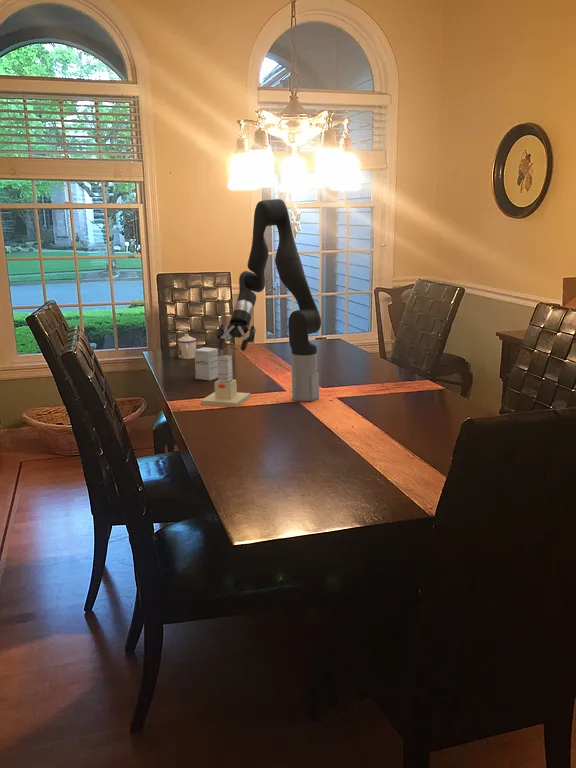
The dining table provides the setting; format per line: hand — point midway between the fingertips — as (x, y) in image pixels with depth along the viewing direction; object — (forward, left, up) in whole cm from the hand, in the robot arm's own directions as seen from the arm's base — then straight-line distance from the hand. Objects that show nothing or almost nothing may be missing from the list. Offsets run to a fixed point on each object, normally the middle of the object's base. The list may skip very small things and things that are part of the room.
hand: (231, 349), depth 243 cm
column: (-1, +7, -16) cm, 18 cm away
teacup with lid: (+59, -51, -18) cm, 80 cm away
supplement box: (+26, -20, -18) cm, 37 cm away
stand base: (-1, +7, -18) cm, 19 cm away
